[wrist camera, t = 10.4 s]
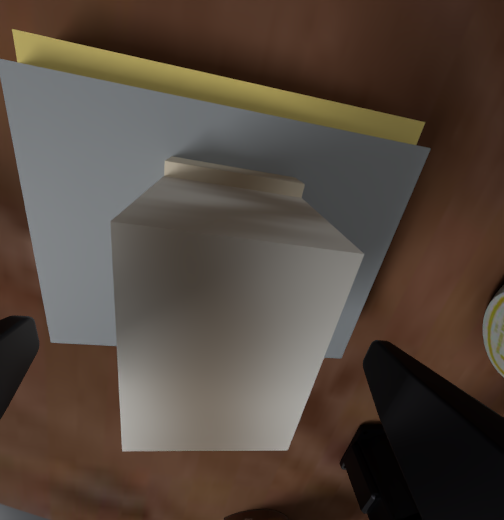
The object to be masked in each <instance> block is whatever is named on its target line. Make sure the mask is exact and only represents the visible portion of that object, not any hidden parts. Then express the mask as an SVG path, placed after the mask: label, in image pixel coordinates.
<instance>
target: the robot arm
mask: <svg viewBox="0 0 504 520" xmlns="http://www.w3.org/2000/svg"><path fill="white" fill-rule="evenodd" d="M38 349H39V339H38V334H37V329H36V325H35V321H34V319H33V318H32V317H29V316H9V317H7V318H4V319H2V320H0V419H1V418H2V416H3V414H4V413H5V411H6V409H7V407H8V406H9V404H10V402H11V400H12V398H13V396H14V395H15V393H16V391H17V389H18V387H19V385H20V384H21V382H22V380H23V378H24V376H25V374H26V372H27V371H28V369H29V367H30V365H31V363H32V361H33V359H34V358H35V356H36V354H37V352H38ZM363 369H364V372H365V375H366V378H367V381H368V384H369V387H370V391H371V394H372V397H373V400H374V403H375V406H376V409H377V412H378V415H379V418H380V421H381V423H382V425H363V426H360V427H359V428H358V430H357V432H356V434H355V436H354V438H353V439H352V441H351V443H350V445H349V447H348V449H347V450H346V452H345V454H344V456H343V458H342V459H341V461H340V466H341V468H342V469H344V470H347V473H348V476H349V479H350V481H351V484H352V487H353V490H354V492H355V495H356V498H357V501H358V503H359V506H360V509H361V511H362V512H363V513H364V514H366V513H367V515H368V517H369V520H504V418H503V417H502V416H500V415H499V414H497V413H496V412H494V411H493V410H491V409H490V408H488V407H487V406H485V405H484V404H482V403H481V402H479V401H478V400H476V399H475V398H473V397H472V396H470V395H469V394H467V393H466V392H464V391H463V390H461V389H460V388H458V387H457V386H455V385H454V384H452V383H451V382H449V381H448V380H446V379H445V378H443V377H442V376H440V375H439V374H437V373H436V372H434V371H432V370H431V369H429V368H428V367H426V366H425V365H423V364H422V363H420V362H419V361H417V360H416V359H414V358H413V357H411V356H410V355H408V354H407V353H405V352H404V351H402V350H401V349H399V348H398V347H396V346H395V345H393V344H392V343H390V342H388V341H381V340H375V341H373V342H372V343H371V345H370V347H369V349H368V351H367V354H366V356H365V358H364V360H363Z"/></svg>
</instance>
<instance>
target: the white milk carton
mask: <svg viewBox="0 0 504 520" xmlns="http://www.w3.org/2000/svg"><path fill="white" fill-rule="evenodd" d="M304 186H305V184H304V183H302V182H301V181H299V180H298V179H297V178H295V177H289V176H283V175H278V174H272V173H266V172H260V171H254V170H249V169H243V168H237V167H231V166H225V165H220V164H214V163H208V162H202V161H196V160H191V159H185V158H179V157H173V156H172V157H170V158H168V159H167V160H165V165H164V176H163V177H162V178H161V179H160V180H159V181H157V182H156V183H155V184H154V185H153V186H152V187H150V188H149V189H148V190H147V191H146V192H144V193H143V194H142V195H141V196H140V197H139V198H137V199H136V200H135V201H134V202H133V203H131V204H130V205H129V206H128V207H127V208H126V209H124V210H123V211H122V212H121V213H120V214H118V215H117V216H116V217H115V218H114V219H113V220H111V221H110V225H111V245H112V264H113V283H114V302H115V321H116V341H117V360H118V379H119V398H120V417H121V437H122V451H258V450H288V448H289V446H290V443H291V441H292V438H293V435H294V433H295V430H296V428H297V425H298V423H299V420H300V418H301V415H302V412H303V410H304V407H305V405H306V402H307V400H308V397H309V395H310V392H311V389H312V387H313V384H314V382H315V379H316V377H317V374H318V372H319V369H320V366H321V364H322V361H323V359H324V356H325V354H326V351H327V349H328V346H329V343H330V341H331V338H332V336H333V333H334V331H335V328H336V326H337V323H338V321H339V318H340V315H341V313H342V310H343V308H344V305H345V303H346V300H347V298H348V295H349V292H350V290H351V287H352V285H353V282H354V280H355V277H356V275H357V272H358V269H359V267H360V264H361V262H362V259H363V257H364V253H363V252H362V251H361V250H359V249H358V248H357V247H356V246H355V245H354V244H353V243H352V242H350V241H349V240H348V239H347V238H346V237H345V236H344V235H343V234H342V233H340V232H339V231H338V230H337V229H336V228H335V227H334V226H333V225H331V224H330V223H329V222H328V221H327V220H326V219H325V218H324V217H322V216H321V215H320V214H319V213H318V212H317V211H316V210H315V209H314V208H312V207H311V206H310V205H309V204H308V203H307V202H306V201H305V200H303V199H302V194H303V190H304Z"/></svg>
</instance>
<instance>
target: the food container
mask: <svg viewBox="0 0 504 520" xmlns="http://www.w3.org/2000/svg"><path fill="white" fill-rule="evenodd" d="M224 520H288V518H287V517H286V516H285V515H284V514H283V513H280V512H277V511H274V510H264V509H260V510H249V511H243V512H239V513H236V514H233V515H230V516H228V517H225V518H224Z"/></svg>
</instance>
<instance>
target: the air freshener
mask: <svg viewBox="0 0 504 520" xmlns="http://www.w3.org/2000/svg"><path fill="white" fill-rule="evenodd" d="M483 339H484V345H485V348H486V351H487V354H488V356H489V359H490V361H491V363H492V364H493V366H494V367H495V369H496V370H497V371H498V372H499V373H500V374H501V375H502V376H503V377H504V285H503V286H502V287H501V288H500V289H499V291H498V292H497V293H496V294H495V296H494V297H493V299H492V300H491V302H490V303H489V305H488V308H487V310H486V312H485V316H484V320H483Z"/></svg>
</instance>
